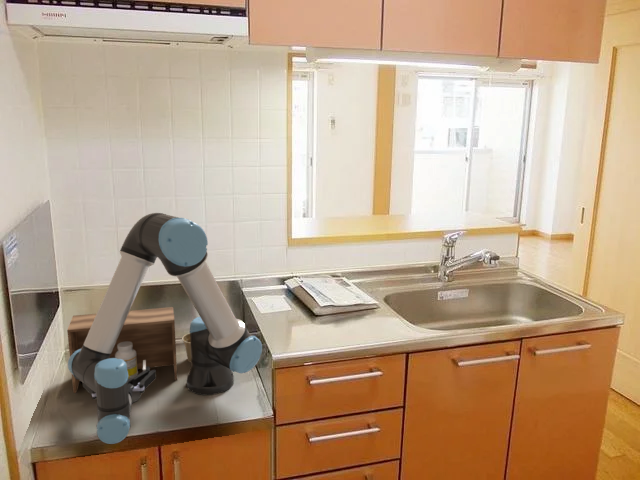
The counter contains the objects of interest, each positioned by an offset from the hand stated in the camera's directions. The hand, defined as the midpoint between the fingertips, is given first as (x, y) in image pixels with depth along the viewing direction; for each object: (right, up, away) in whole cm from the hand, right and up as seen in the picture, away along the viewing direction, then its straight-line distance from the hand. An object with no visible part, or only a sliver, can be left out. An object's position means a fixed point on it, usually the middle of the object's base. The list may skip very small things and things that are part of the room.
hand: (121, 366), depth 160 cm
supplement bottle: (-3, -8, +12) cm, 14 cm away
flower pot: (+17, -4, +27) cm, 32 cm away
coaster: (+1, -10, +1) cm, 10 cm away
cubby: (-3, -7, +13) cm, 15 cm away
